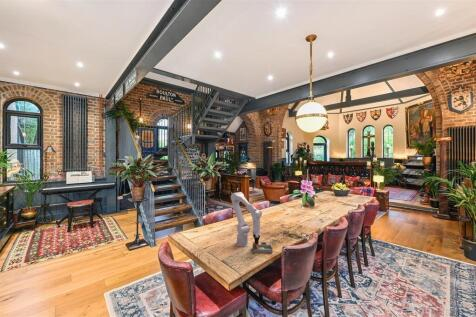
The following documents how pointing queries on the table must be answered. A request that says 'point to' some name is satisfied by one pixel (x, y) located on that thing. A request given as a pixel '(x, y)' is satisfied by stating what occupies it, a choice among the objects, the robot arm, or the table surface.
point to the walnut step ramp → (255, 247)
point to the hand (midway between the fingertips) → (256, 242)
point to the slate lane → (264, 249)
